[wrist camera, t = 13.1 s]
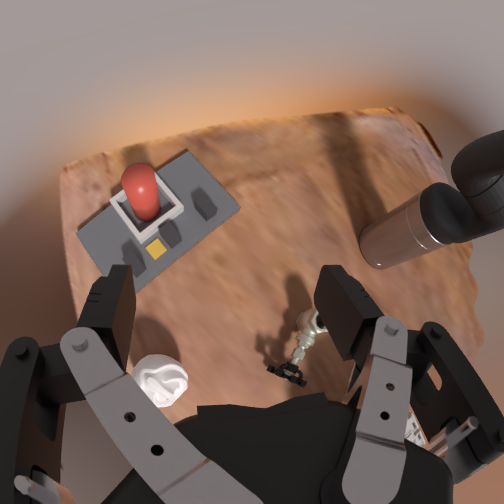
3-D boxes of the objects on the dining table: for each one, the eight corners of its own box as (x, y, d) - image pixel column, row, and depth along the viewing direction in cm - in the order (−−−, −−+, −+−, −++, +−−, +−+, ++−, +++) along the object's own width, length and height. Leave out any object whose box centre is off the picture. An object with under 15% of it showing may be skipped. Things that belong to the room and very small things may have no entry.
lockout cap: (150, 190, 44) (143, 157, 35) (166, 210, 44) (162, 179, 35) (128, 207, 43) (114, 176, 33) (143, 227, 43) (132, 200, 33)
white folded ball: (164, 409, 37) (159, 424, 30) (127, 375, 38) (114, 385, 30) (197, 374, 40) (199, 383, 33) (160, 340, 40) (154, 343, 33)
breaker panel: (188, 155, 49) (188, 142, 45) (239, 210, 48) (243, 200, 45) (78, 236, 41) (70, 228, 37) (125, 303, 40) (119, 300, 37)
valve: (294, 301, 46) (260, 367, 42) (310, 297, 40) (272, 373, 36) (326, 319, 47) (295, 383, 43) (346, 317, 40) (311, 391, 37)
